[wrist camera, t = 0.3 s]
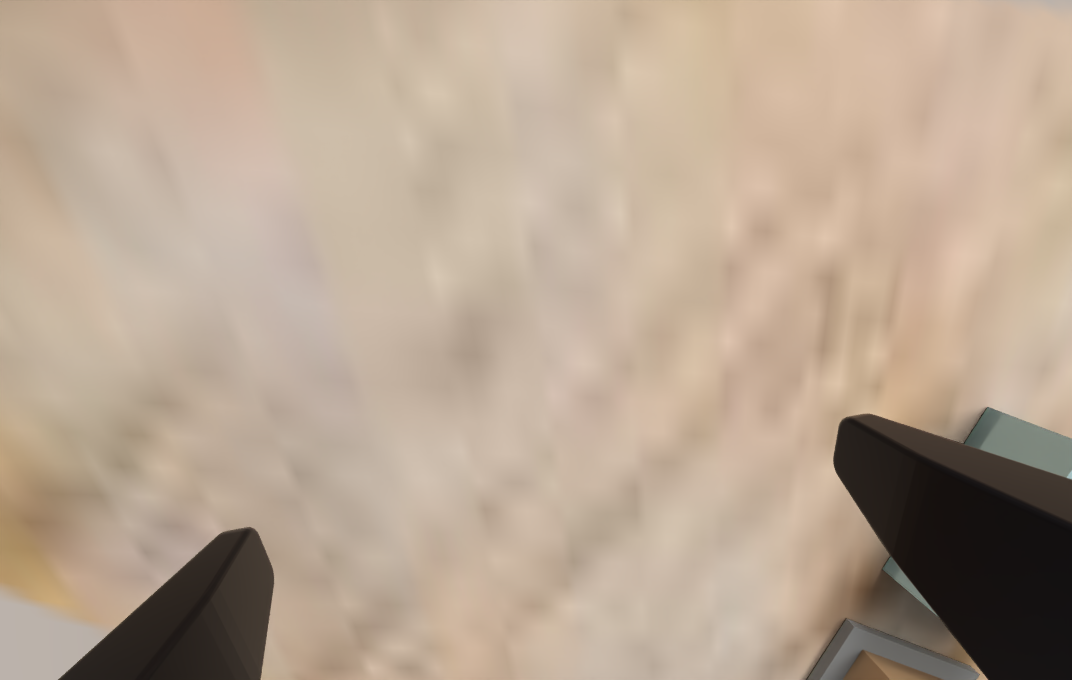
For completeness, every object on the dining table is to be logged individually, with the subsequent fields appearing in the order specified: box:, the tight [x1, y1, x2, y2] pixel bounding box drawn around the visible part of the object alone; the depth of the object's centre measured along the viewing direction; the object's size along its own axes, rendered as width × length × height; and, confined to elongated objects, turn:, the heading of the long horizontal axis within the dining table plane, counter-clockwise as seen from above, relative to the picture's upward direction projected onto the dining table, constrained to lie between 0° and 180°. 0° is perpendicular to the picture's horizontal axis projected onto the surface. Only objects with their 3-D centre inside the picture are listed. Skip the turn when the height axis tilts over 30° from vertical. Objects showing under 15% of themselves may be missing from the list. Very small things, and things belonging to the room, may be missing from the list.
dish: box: [883, 407, 1072, 616], centre depth 27 cm, size 10×9×4 cm
